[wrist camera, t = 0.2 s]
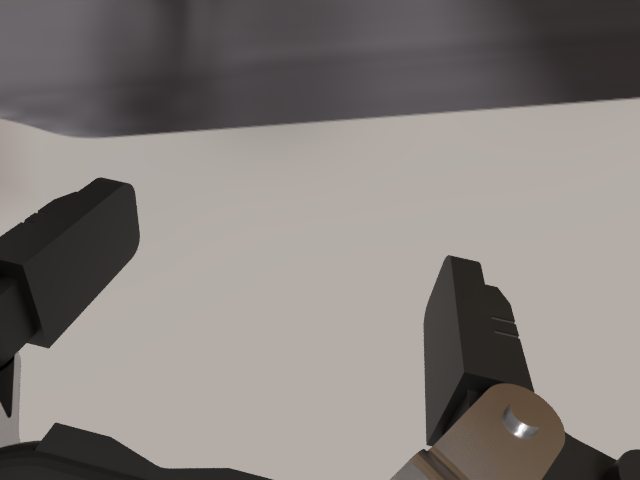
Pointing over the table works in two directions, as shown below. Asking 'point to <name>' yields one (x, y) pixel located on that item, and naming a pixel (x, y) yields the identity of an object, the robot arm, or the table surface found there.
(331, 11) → the table surface
